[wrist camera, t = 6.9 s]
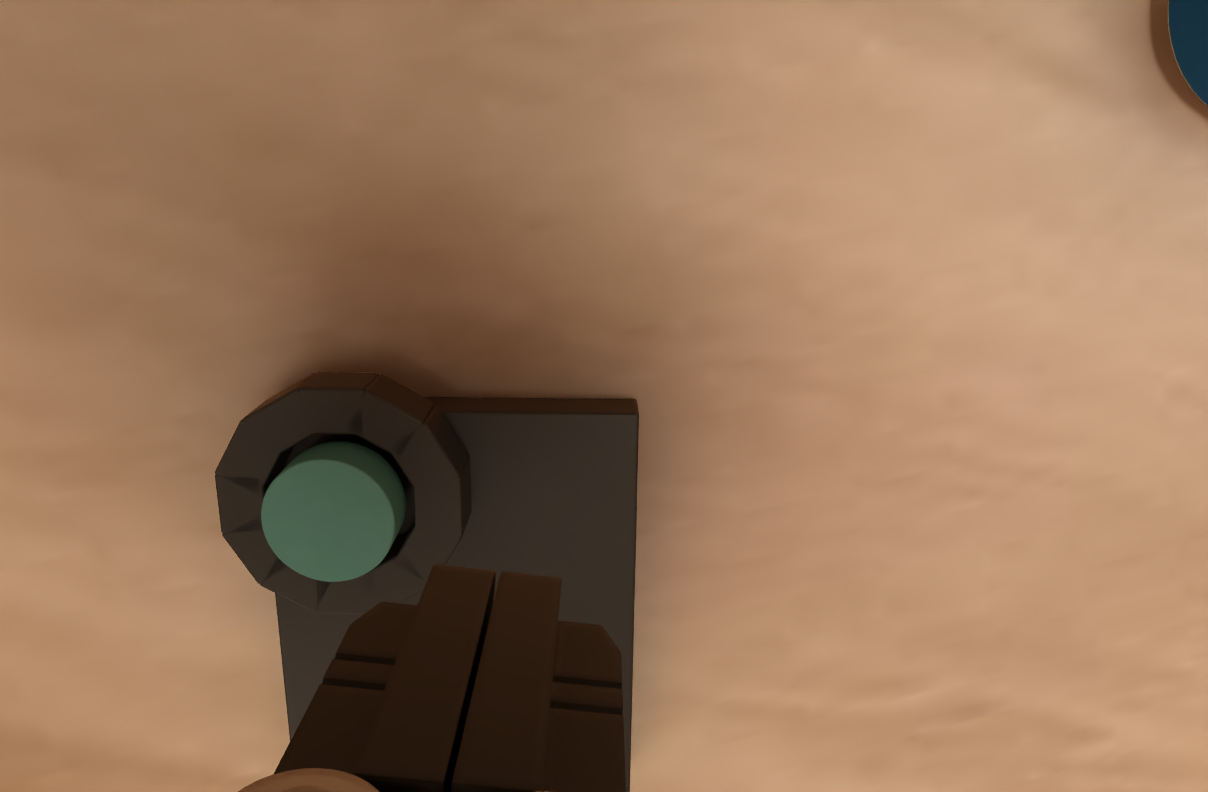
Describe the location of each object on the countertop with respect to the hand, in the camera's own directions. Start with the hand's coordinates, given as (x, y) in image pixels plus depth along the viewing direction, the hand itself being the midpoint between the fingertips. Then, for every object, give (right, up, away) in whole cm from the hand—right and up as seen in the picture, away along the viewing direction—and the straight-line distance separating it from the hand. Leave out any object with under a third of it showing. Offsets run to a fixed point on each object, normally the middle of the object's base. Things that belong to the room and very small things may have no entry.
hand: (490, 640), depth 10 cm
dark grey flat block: (-3, -3, +16) cm, 16 cm away
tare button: (-5, 0, +12) cm, 13 cm away
